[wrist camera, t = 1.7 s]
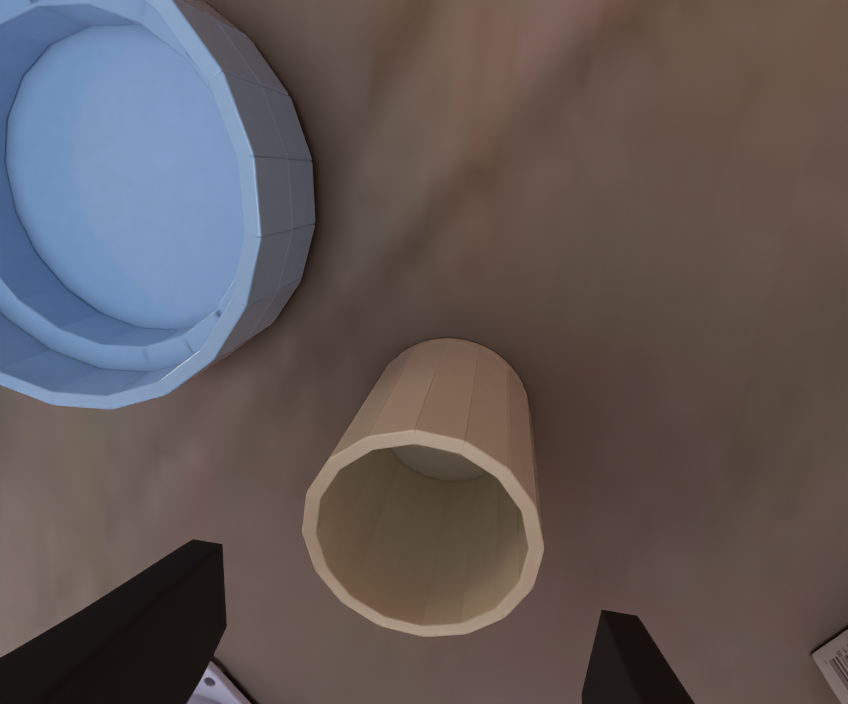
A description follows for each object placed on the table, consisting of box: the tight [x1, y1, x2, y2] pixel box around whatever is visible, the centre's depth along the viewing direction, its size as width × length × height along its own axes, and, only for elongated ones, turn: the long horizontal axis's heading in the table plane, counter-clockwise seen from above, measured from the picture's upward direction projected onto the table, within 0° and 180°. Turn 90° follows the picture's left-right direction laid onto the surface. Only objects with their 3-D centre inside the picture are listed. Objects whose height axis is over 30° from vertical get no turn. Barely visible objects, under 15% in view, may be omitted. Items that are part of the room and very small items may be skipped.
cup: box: [302, 338, 545, 637], centre depth 15 cm, size 6×6×7 cm
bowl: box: [0, 0, 315, 410], centre depth 16 cm, size 12×12×4 cm
